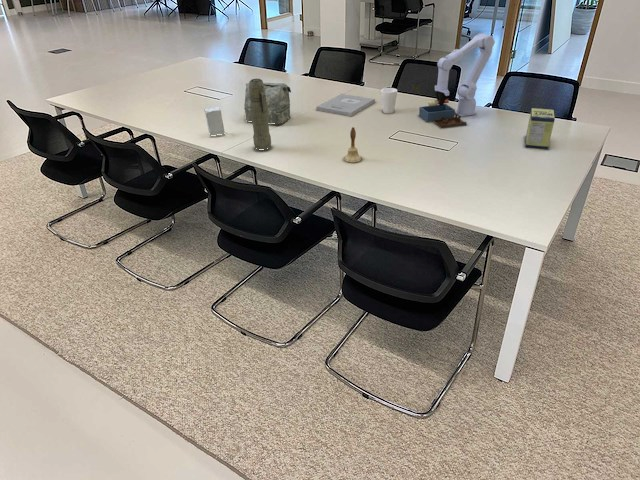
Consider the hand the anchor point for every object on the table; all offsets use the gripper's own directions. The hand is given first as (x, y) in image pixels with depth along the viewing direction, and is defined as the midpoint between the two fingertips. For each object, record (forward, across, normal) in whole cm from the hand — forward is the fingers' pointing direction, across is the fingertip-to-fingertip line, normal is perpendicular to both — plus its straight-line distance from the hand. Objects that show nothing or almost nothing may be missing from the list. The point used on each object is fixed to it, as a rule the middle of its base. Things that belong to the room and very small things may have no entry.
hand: (440, 104), depth 280 cm
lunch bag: (+8, -29, -95) cm, 100 cm away
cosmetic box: (+8, -14, -127) cm, 128 cm away
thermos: (+8, +13, -105) cm, 106 cm away
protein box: (+8, +51, +29) cm, 59 cm away
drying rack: (+7, +12, +1) cm, 14 cm away
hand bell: (+8, +41, -65) cm, 77 cm away
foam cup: (+8, -19, -24) cm, 32 cm away
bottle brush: (-2, 0, -2) cm, 2 cm away
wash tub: (+7, 0, -2) cm, 7 cm away
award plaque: (+8, -38, -45) cm, 59 cm away
